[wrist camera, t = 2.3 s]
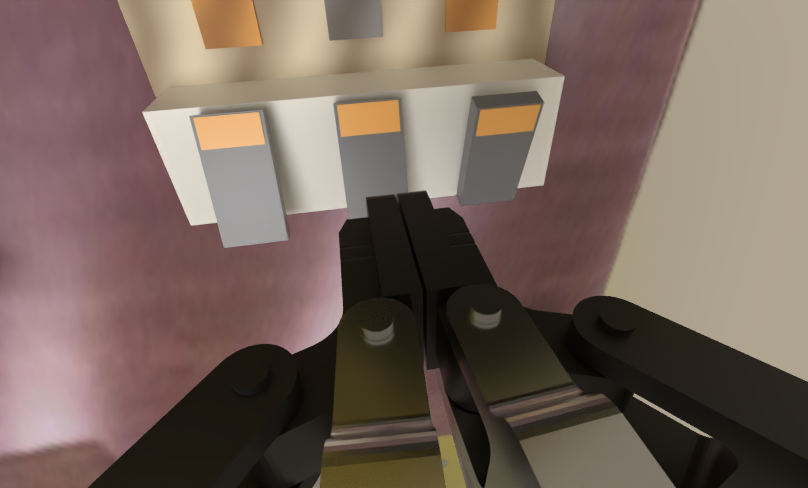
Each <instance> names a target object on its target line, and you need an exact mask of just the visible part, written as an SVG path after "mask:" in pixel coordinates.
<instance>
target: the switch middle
mask: <svg viewBox="0 0 808 488" xmlns="http://www.w3.org/2000/svg"><path fill="white" fill-rule="evenodd" d="M333 106H334V114H335V121H336V129H337V136H338V143H339V151H340V158H341V166H342V173H343V181H344V188H345V196H346V203H347V210H348V218H349V219H356V218H364V217H367V208H366V197H372V196H380V195H389V194H395V196H396V195H397V193H406V192H408V182H407V168H406V155H405V141H404V128H403V114H402V100H401V98H400V97H393V98H382V99H370V100H359V101H347V102H336V103H333Z"/></svg>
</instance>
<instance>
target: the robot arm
mask: <svg viewBox="0 0 808 488" xmlns="http://www.w3.org/2000/svg"><path fill="white" fill-rule="evenodd" d="M366 208H367V217H364V218H356V219H347V220H346V222H345V223H344V225H343V227H342V229H341V230H340V232H339V243H340V259H341V277H342V295H343V315H342V318H341V319H340V322H339V324H338V326H337V327H336V329H335V330H334V331H333V332H332V333H331V334H330V335H329V336H328V337H326V338H325V339H324V340H322V341H321V342H319V343H317V344H315V345H313V346H311V347H308V348H306V349H304V350H302V351H299V352H297V353H295V354H291V353H290V352H288V351H287V350H286V349H284V348H282V347H280V346H277V345H272V344H258V345H253V346H249V347H246V348H243V349H241V350H239V351H237V352H235V353H233V354H232V355H230V356H229V357H227V358H226V359H225V360H223V361H222V362H221V363H220V364H219V365H218V366H217V367H216V368H215V369H214V370H213V371H211V372H210V373H209V374H208V375H207V376H206V377H205V378H204V379H203V380H202V381H201V382H200V383H199V384H198V385H197V386H195V387H194V388H193V389H192V390H191V391H190V392H189V393H188V394H187V395H186V396H185V397H184V398H183V399H182V400H181V401H180V402H178V403H177V404H176V405H175V406H174V407H173V408H172V409H171V410H170V411H169V412H168V413H167V414H166V415H165V416H164V417H162V418H161V419H160V420H159V421H158V422H157V423H156V424H155V425H154V426H153V427H152V428H151V429H150V430H149V431H148V432H146V433H145V434H144V435H143V436H142V437H141V438H140V439H139V440H138V441H137V442H136V443H135V444H134V445H133V446H132V447H131V448H129V449H128V450H127V451H126V452H125V453H124V454H123V455H122V456H121V457H120V458H119V459H118V460H117V461H116V462H115V463H113V464H112V465H111V466H110V467H109V468H108V469H107V470H106V471H105V472H104V473H103V474H102V475H101V476H100V477H99V478H97V479H96V480H95V481H94V482H93V483H92V484H91V485H90V486H89V487H88V488H312V487H313V486H314V484H315V483H316V481H317V480H318V478H319V476H320V474H321V477H320V488H446V485H445V479H444V473H443V466H442V459H441V453H440V447H439V442H438V437H437V432H436V429H435V427H433V424H432V420H431V414H430V407H429V400H428V393H427V387H426V380H425V373H424V360H425V364H426V368H427V370H430V369H435V371H436V375H437V379H438V383H439V387H440V391H441V395H442V398H443V402H444V406H445V410H446V413H447V417H448V421H449V425H450V428H451V432H452V436H453V439H454V443H455V447H456V451H457V455H458V458H459V462H460V466H461V469H462V472H463V477H464V480H465V484H466V488H808V382H807V381H805V380H802V379H800V378H798V377H796V376H793V375H791V374H789V373H787V372H785V371H782V370H780V369H778V368H776V367H773V366H771V365H769V364H766V363H765V362H762V361H760V360H758V359H755V358H753V357H751V356H749V355H747V354H744V353H742V352H740V351H737V350H736V349H733V348H731V347H729V346H727V345H724V344H722V343H720V342H718V341H715V340H713V339H711V338H709V337H707V336H704V335H702V334H700V333H698V332H695V331H693V330H691V329H689V328H687V327H684V326H682V325H680V324H678V323H675V322H673V321H671V320H669V319H667V318H664V317H662V316H660V315H658V314H655V313H653V312H650V311H649V310H646V309H644V308H642V307H640V306H638V305H635V304H633V303H631V302H628V301H626V300H623V299H620V298H616V297H611V296H593V297H589V298H586V299H584V300H582V301H580V302H579V303H578V304H577V305H576V307H575V308H574V311H573V314H572V315H571V314H562V313H553V312H544V311H537V310H532V309H529V308H526V307H523V305H522V304H521V302H520V301H519V300H518V299H517V297H515V296H514V295H513V294H512V293H510V292H509V291H507V290H505V289H503V288H501V287H498V286H497V284H496V282H495V281H494V279H493V277H492V275H491V273H490V271H489V269H488V267H487V265H486V263H485V261H484V259H483V257H482V255H481V253H480V251H479V249H478V247H477V245H475V241H474V239H473V237H472V235H471V234H470V233H469V229H468V227H467V225H466V223H465V222H464V220H463V218H462V217H461V216H460V215H458V214H457V213H456V212H454V211H453V210H451V209H450V208H449V207H448V208H440V209H434V208H433V206H432V203H431V201H430V198H429V196H428V194H427V191H425V190H424V191H415V192H406V193H397V195H396V196H395V194H389V195H380V196H372V197H366ZM634 393H635V394H637V395H639V396H641V397H642V398H644V399H646V400H648V401H649V402H651V403H653V404H655V405H657V406H658V407H660V408H662V409H664V410H665V411H667V412H669V413H671V414H672V415H674V416H676V417H678V418H680V419H681V420H683V421H685V422H687V423H689V424H690V425H692V426H694V427H695V428H697V429H699V430H701V431H703V432H704V433H706V434H708V435H710V436H711V437H713V438H709V437H705V436H702V435H700V434H698V433H696V432H694V431H692V430H690V429H689V428H687V427H685V426H683V425H682V424H680V423H678V422H676V421H675V420H673V419H671V418H670V417H668V416H666V415H664V414H663V413H661V412H659V411H657V410H656V409H654V408H652V407H650V406H649V405H647V404H645V403H643V402H642V401H640V400H638V399H636V398H635V397H633V395H634Z"/></svg>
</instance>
